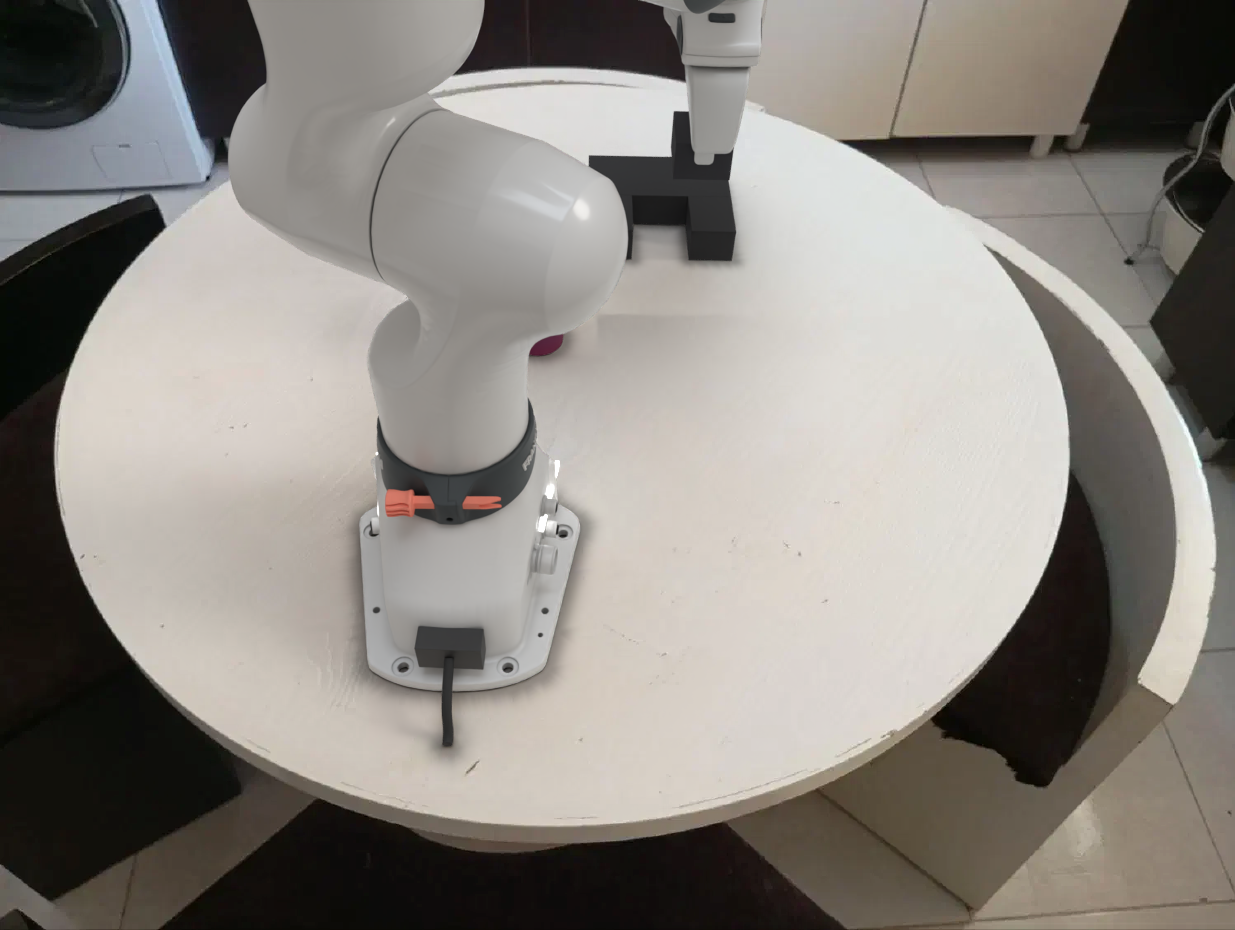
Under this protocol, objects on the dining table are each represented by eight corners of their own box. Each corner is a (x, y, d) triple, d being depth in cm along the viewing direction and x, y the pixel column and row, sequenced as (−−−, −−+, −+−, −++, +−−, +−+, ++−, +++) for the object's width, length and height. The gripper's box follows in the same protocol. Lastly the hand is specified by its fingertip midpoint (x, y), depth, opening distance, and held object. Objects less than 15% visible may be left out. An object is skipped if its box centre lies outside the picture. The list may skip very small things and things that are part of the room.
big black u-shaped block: (731, 261, 110) (736, 231, 107) (587, 258, 110) (588, 229, 107) (721, 186, 119) (725, 157, 116) (588, 184, 119) (588, 155, 116)
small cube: (729, 180, 96) (734, 144, 93) (672, 179, 96) (676, 143, 93) (725, 148, 100) (730, 112, 96) (670, 147, 99) (673, 110, 96)
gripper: (674, -58, 91) (664, 82, 102) (684, 57, 79) (672, 203, 89) (742, -56, 92) (725, 83, 102) (763, 59, 79) (742, 204, 89)
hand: (700, 140), depth 96 cm, fingers closed on small cube, 5 cm apart
